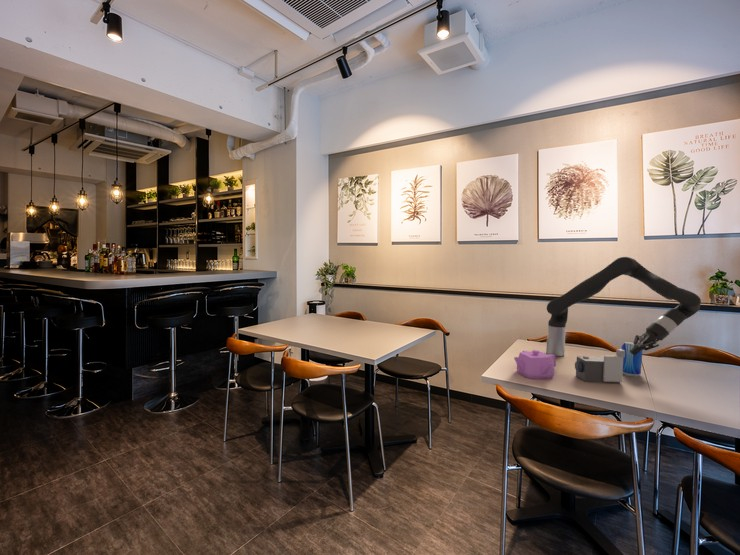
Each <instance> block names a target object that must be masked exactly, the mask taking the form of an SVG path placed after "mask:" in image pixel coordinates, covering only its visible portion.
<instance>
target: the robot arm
mask: <svg viewBox="0 0 740 555" xmlns="http://www.w3.org/2000/svg"><path fill="white" fill-rule="evenodd" d="M623 275H624V276H628V277H631V278H633V279H636V280H637V281H639V282H641V283H643V284H644V285H646V286H647V287H648V288H649V289H650V290H651V291H653V292H655V293H657V294H658V295H660V296H661V297H663V298H665V299H666V300H669V301H672V300H673V301H675V302H677V303H679V304H678V305H677V306H676V307H674V308H670V309H668V310H667V311H666V312H664V313H663V314H662V315H661V316H659V317H658V318H656V319H655V320H654V321H653V322H652V323H651V324H650V325H648V326H647V327H646V328H645V332H644V333H642V335H638V334H637V335H635V337H634V341H633V342H634V345H635V347H634V348H632V349H631V350H630V353H631V354H633V355H636V354H637V353H638V352H640V351H641V350H642V351H649V350H652V349H655V348H657V347H659V346H660V345H659V344H660V343H658V342H659V341H663V340H665V338H667V337H668V336H669V335H670V334H671V333H672V332H674V331H675V329H676V328H678V326H680V325H681V324H682V323H683V322H684V321H685V320H687V319H689V318H691V317H692V316H694V315H695V314H697V313H698V311H700V308H701V304H702V303H701V302H702V300H701V297H700V296H699V295H698V294H696V293H694V292H692V291H690V290H688V289H685V288H682V287H678V286H677V285H675V284H673V283H672V282H670V281H668V280H666V279H664V278H662V277H661V276H659V275H657V274H655V273H653V272H651V271H650V270H648V269H647V268H645V267H644V266H643V265H642V264H641V263H640V262H638V260H636V259H635V258H632V257H629V256H620V257H618V258H616V259H614V260H613V261H612V262H611V263H610V264H608V265H607V266H606V267H604V268H603V269H601V270H600V271H598V272H596V273H595V274H593V275H591V276H590V277H587V278H586V279H584V280H583V281H581V282H580V283H578V284H577V285H575V286H574V287H573V288H571V289H570V290H568V291H567V292H566V293H564V294H563V295H561V296H559V297H557V298H553V299H552V300H550V301H549V302H548V303H547V305H546V311H547V313H548V314H549V315H551V317H550V319H549V320H548V323H547V326H548V327H547V337H546V349H545V354H552V355H555V357H564V356H565V348H566V347H565V346H566V330H567V328H566V326H567V322H568V315H569V308H570V307H571V306H574V305H575V304H578V303H580V302H583V301H585V300H588V299H590V298H591V297H593V296H595V295H597V294H599V293H600V292H601V291H602V290H604V289H605V287H606V286H607V285H608V284H609V283H610V282H611V281H613V280H615V279H617V278H618V277H620V276H623Z"/></svg>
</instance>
